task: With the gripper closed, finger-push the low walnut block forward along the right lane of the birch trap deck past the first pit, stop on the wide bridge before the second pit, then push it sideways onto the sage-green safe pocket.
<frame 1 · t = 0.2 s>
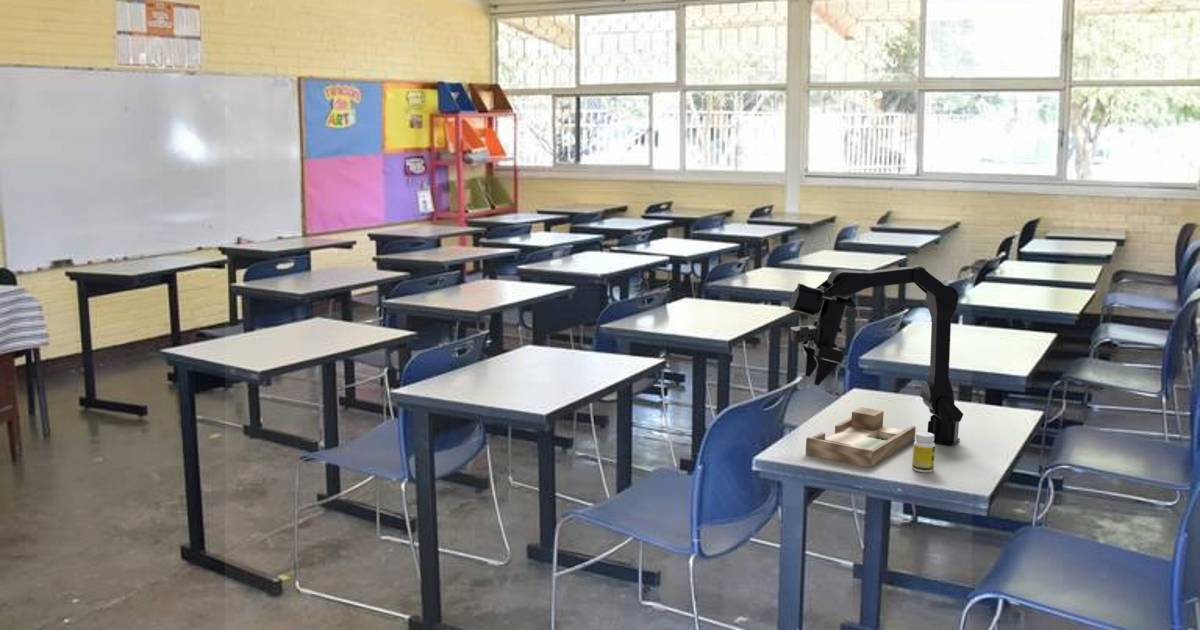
hand: (811, 380, 256), 15 cm above the table, tool pointing down, fingers open, 9 cm apart
supplement bottle: (922, 470, 237), on the table
block: (866, 426, 264), point 2 cm above the table, touching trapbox
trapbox: (862, 446, 254), on the table
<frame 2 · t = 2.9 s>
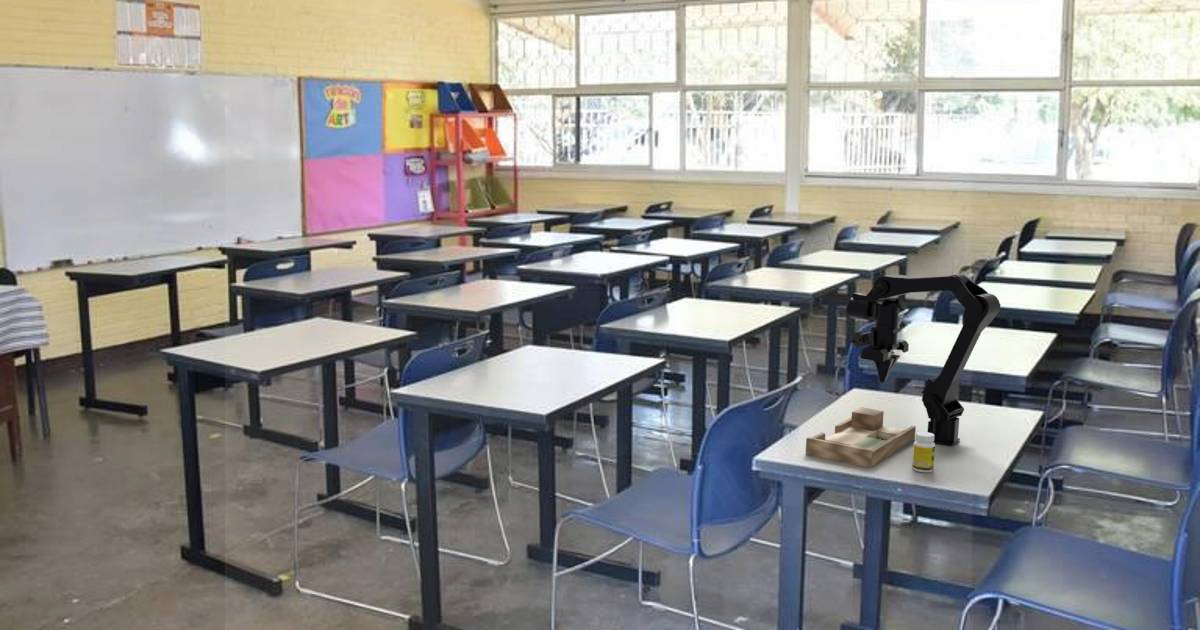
hand: (882, 382, 270), 12 cm above the table, tool pointing down, fingers closed
nothing on the table moved.
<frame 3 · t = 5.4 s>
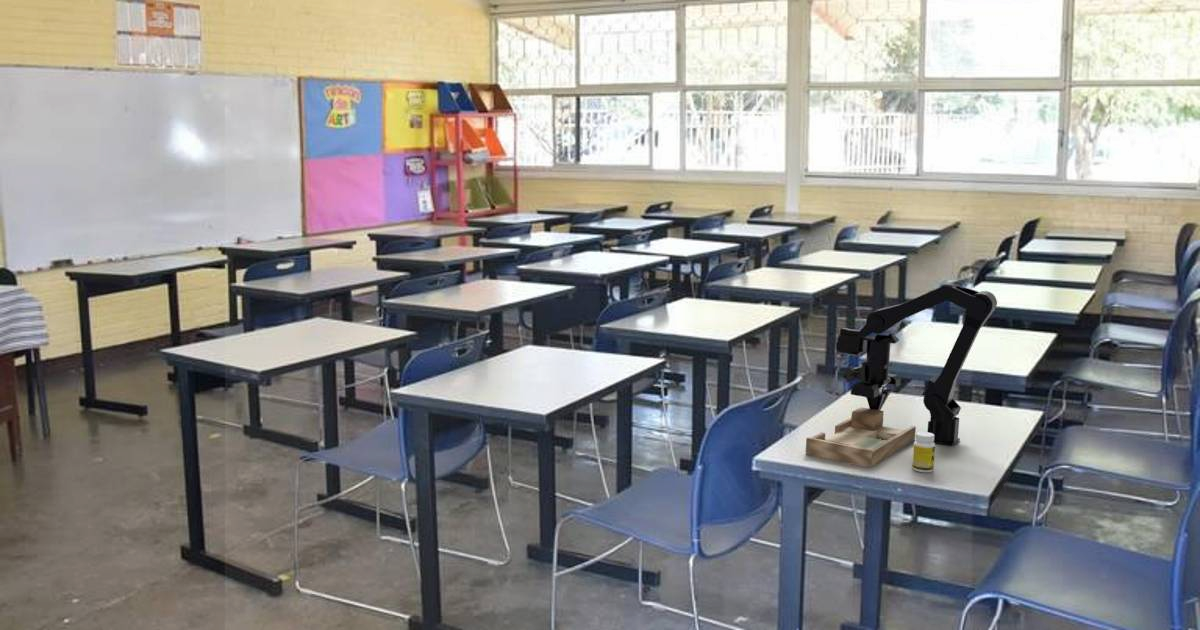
hand: (874, 417, 268), 4 cm above the table, tool pointing down, fingers closed
block: (866, 426, 264), point 2 cm above the table, touching gripper
everything else where it was.
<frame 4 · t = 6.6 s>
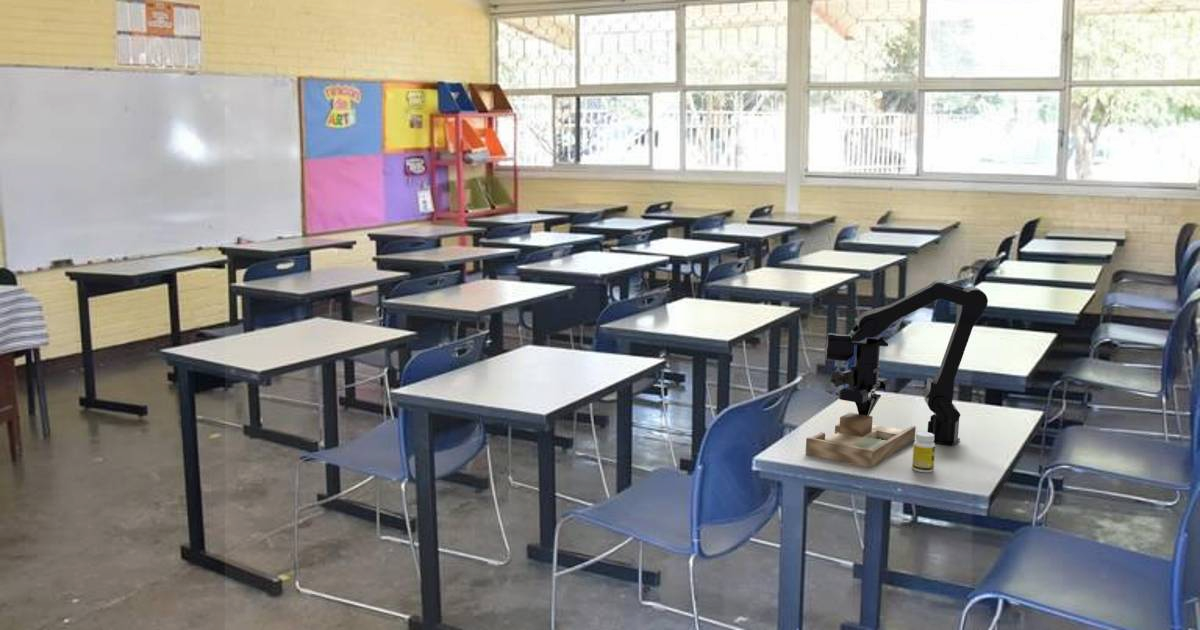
hand: (863, 422, 262), 4 cm above the table, tool pointing down, fingers closed
block: (855, 432, 259), point 2 cm above the table, touching gripper, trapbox
everything else where it was.
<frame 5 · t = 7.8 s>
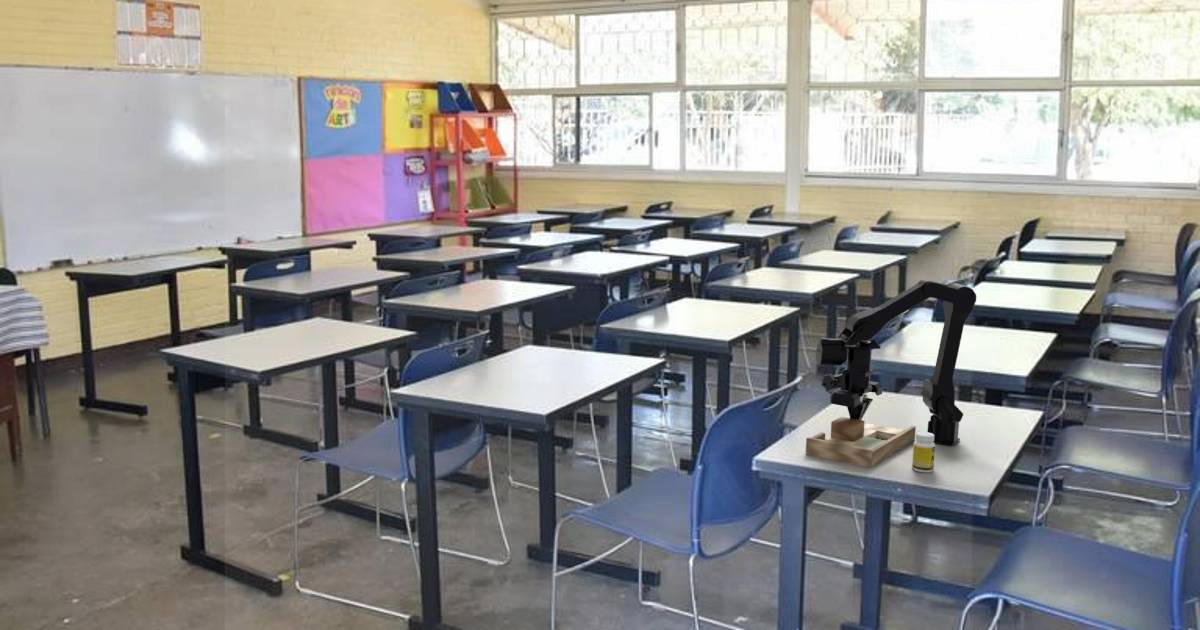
hand: (854, 426, 258), 4 cm above the table, tool pointing down, fingers closed
block: (847, 437, 255), point 2 cm above the table, touching gripper
everything else where it was.
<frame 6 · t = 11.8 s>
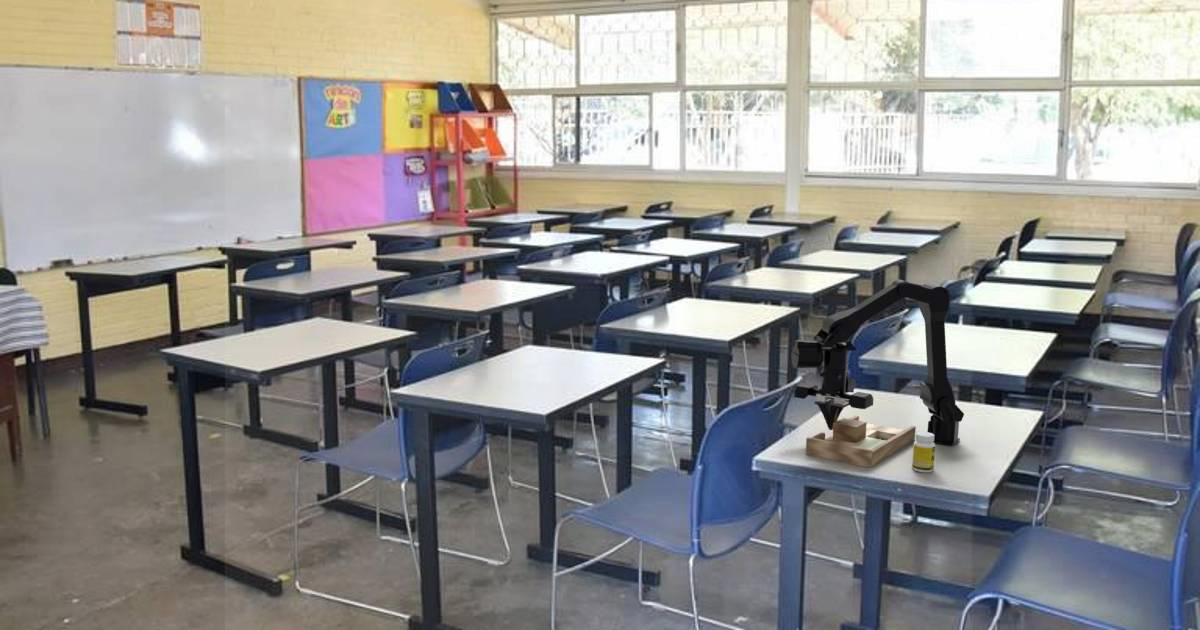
hand: (831, 429, 256), 3 cm above the table, tool pointing down, fingers closed
block: (849, 438, 254), point 2 cm above the table, touching gripper, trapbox
everything else where it was.
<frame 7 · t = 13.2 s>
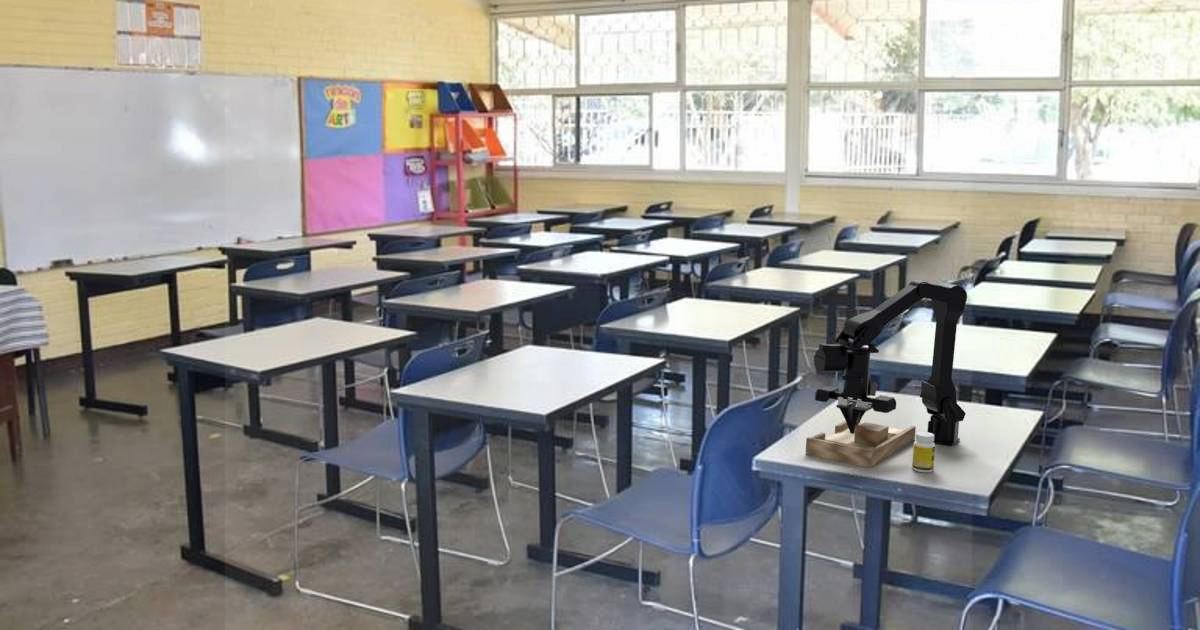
hand: (852, 433, 252), 4 cm above the table, tool pointing down, fingers closed
block: (870, 442, 250), point 2 cm above the table, touching gripper, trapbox
everything else where it was.
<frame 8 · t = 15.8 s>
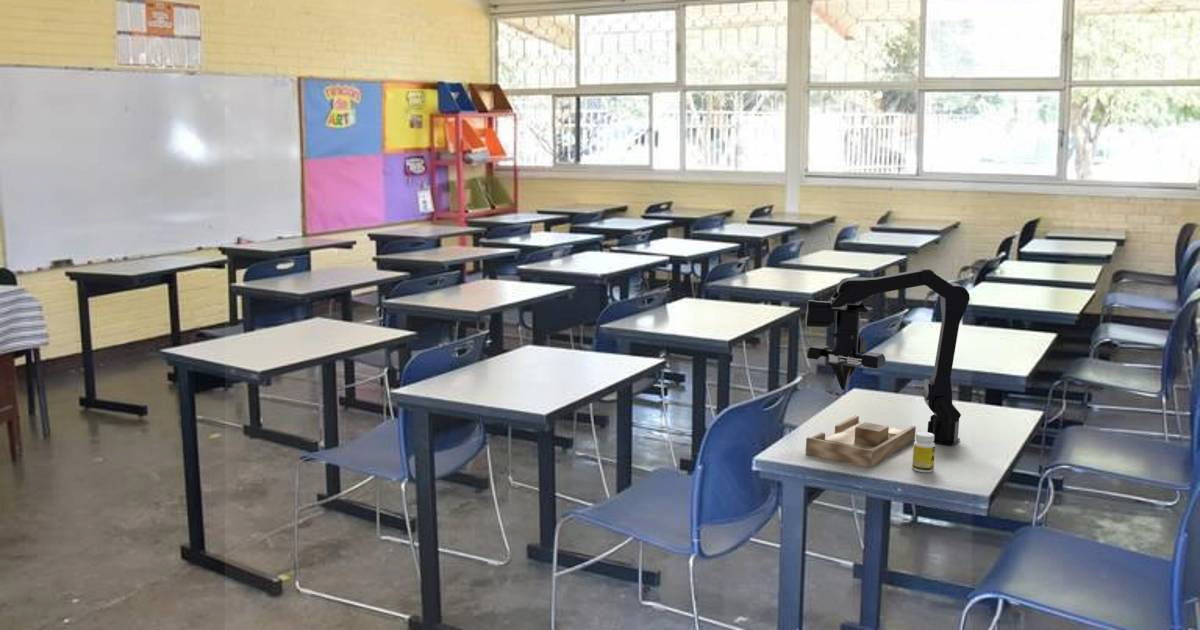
hand: (843, 389, 261), 12 cm above the table, tool pointing down, fingers closed
block: (871, 442, 250), point 2 cm above the table, touching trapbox
everything else where it was.
at the end: block inside the target area on the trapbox (0.3 cm from its centre), point 2.0 cm above the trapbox's base; block tilted 0° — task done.
